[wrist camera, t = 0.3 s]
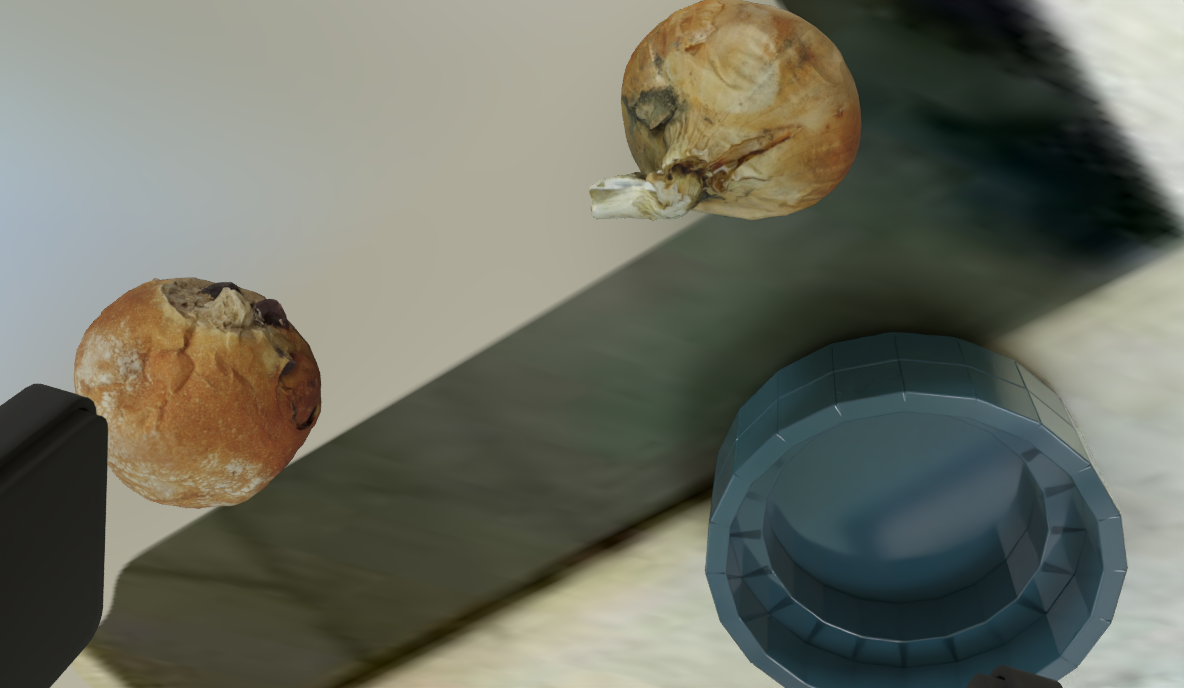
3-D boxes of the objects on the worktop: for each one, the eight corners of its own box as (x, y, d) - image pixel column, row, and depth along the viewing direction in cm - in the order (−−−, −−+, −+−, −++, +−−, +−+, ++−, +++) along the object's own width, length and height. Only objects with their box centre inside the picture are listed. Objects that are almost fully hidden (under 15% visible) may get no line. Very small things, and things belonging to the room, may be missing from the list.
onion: (801, 232, 40) (804, 318, 33) (600, 155, 40) (559, 225, 33) (892, 36, 36) (916, 85, 29) (672, -48, 36) (643, -20, 29)
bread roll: (141, 280, 50) (-9, 382, 45) (240, 216, 43) (75, 328, 37) (273, 445, 53) (146, 559, 47) (387, 411, 45) (251, 541, 40)
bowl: (980, 258, 39) (1007, 319, 34) (1149, 551, 43) (1195, 643, 38) (649, 429, 45) (631, 503, 40) (825, 675, 48) (829, 770, 44)
